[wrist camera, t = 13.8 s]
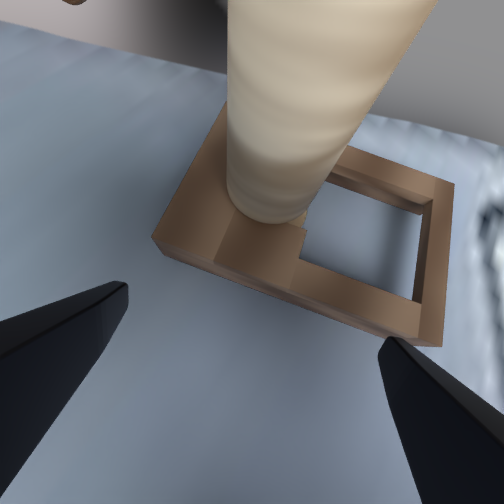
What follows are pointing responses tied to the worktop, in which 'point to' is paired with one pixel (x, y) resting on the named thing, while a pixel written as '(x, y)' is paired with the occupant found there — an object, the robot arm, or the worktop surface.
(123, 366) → the worktop surface
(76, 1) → the tin
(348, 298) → the brown rectangular frame
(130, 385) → the worktop surface
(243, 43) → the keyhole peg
